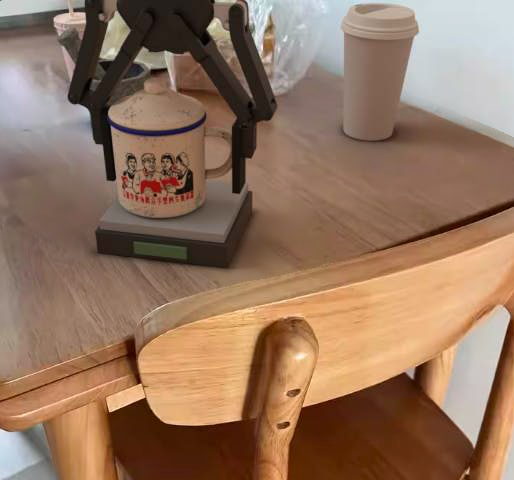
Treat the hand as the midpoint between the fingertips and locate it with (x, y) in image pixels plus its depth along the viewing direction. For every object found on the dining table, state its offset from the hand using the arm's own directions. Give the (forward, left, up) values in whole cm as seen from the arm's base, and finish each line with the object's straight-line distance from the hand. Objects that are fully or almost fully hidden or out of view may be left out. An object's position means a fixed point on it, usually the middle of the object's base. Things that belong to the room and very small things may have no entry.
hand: (176, 181), depth 72 cm
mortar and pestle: (-17, +27, -6) cm, 32 cm away
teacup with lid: (0, 0, -2) cm, 2 cm away
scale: (0, 0, -5) cm, 5 cm away
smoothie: (-26, +40, -6) cm, 48 cm away
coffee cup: (+17, +32, -6) cm, 37 cm away
